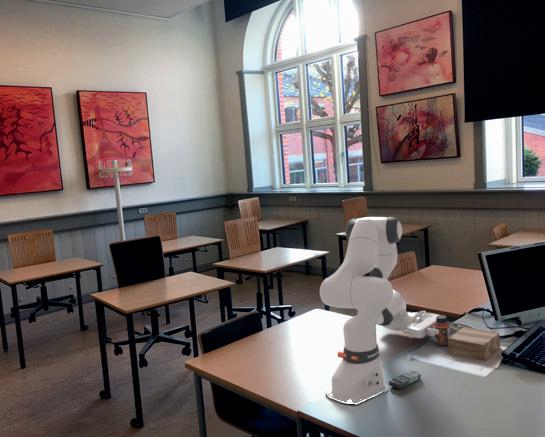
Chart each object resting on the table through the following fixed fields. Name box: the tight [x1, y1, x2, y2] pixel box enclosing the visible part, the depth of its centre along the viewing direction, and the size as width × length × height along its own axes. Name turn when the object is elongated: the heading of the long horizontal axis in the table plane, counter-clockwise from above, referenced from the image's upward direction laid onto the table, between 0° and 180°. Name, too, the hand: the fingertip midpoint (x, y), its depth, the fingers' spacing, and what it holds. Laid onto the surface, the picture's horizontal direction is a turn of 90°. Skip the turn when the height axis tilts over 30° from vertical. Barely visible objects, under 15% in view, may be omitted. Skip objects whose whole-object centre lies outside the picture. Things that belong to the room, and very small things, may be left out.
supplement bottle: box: [434, 314, 451, 346], centre depth 199 cm, size 6×6×11 cm
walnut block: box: [447, 326, 501, 362], centre depth 190 cm, size 14×14×6 cm
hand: (443, 329), depth 198 cm, fingers closed on supplement bottle, 6 cm apart
